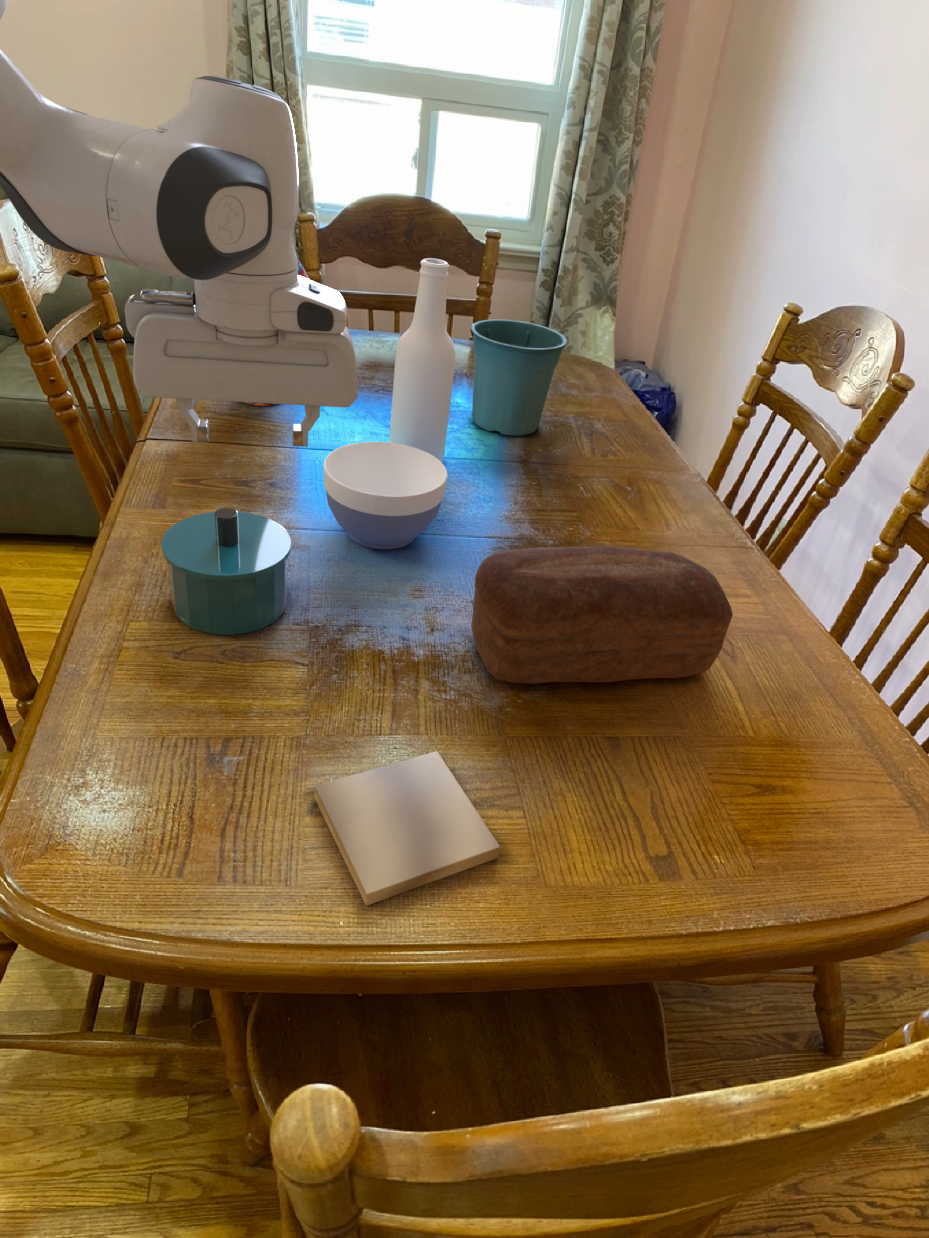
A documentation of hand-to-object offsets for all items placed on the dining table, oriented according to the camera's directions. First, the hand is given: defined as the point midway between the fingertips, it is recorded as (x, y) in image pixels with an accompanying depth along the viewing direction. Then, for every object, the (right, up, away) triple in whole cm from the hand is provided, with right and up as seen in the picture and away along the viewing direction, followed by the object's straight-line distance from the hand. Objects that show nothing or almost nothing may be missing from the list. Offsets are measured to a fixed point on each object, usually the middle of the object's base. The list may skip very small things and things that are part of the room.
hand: (251, 442), depth 81 cm
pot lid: (-5, -9, +9) cm, 14 cm away
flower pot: (+28, +18, +67) cm, 75 cm away
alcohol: (+13, +7, +50) cm, 52 cm away
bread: (+35, -22, +14) cm, 43 cm away
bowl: (+10, -6, +30) cm, 32 cm away
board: (+16, -35, -10) cm, 40 cm away
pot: (-6, -15, +13) cm, 21 cm away
